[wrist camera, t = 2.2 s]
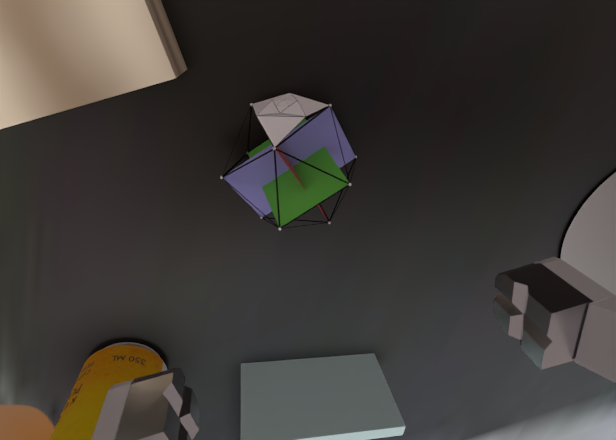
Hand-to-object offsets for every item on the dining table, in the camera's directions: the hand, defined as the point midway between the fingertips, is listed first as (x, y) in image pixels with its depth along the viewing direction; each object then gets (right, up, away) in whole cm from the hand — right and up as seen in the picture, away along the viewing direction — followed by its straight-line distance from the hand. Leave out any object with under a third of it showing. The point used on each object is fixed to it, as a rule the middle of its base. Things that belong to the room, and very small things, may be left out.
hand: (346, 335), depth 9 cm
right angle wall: (-1, -14, +26) cm, 30 cm away
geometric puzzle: (-2, +7, +14) cm, 16 cm away
